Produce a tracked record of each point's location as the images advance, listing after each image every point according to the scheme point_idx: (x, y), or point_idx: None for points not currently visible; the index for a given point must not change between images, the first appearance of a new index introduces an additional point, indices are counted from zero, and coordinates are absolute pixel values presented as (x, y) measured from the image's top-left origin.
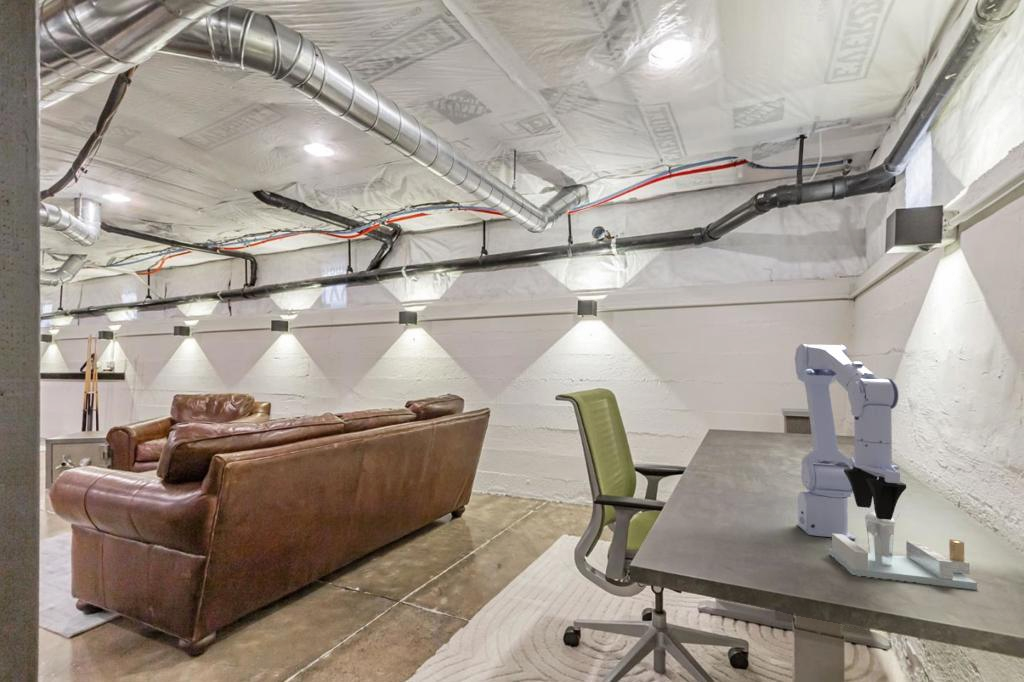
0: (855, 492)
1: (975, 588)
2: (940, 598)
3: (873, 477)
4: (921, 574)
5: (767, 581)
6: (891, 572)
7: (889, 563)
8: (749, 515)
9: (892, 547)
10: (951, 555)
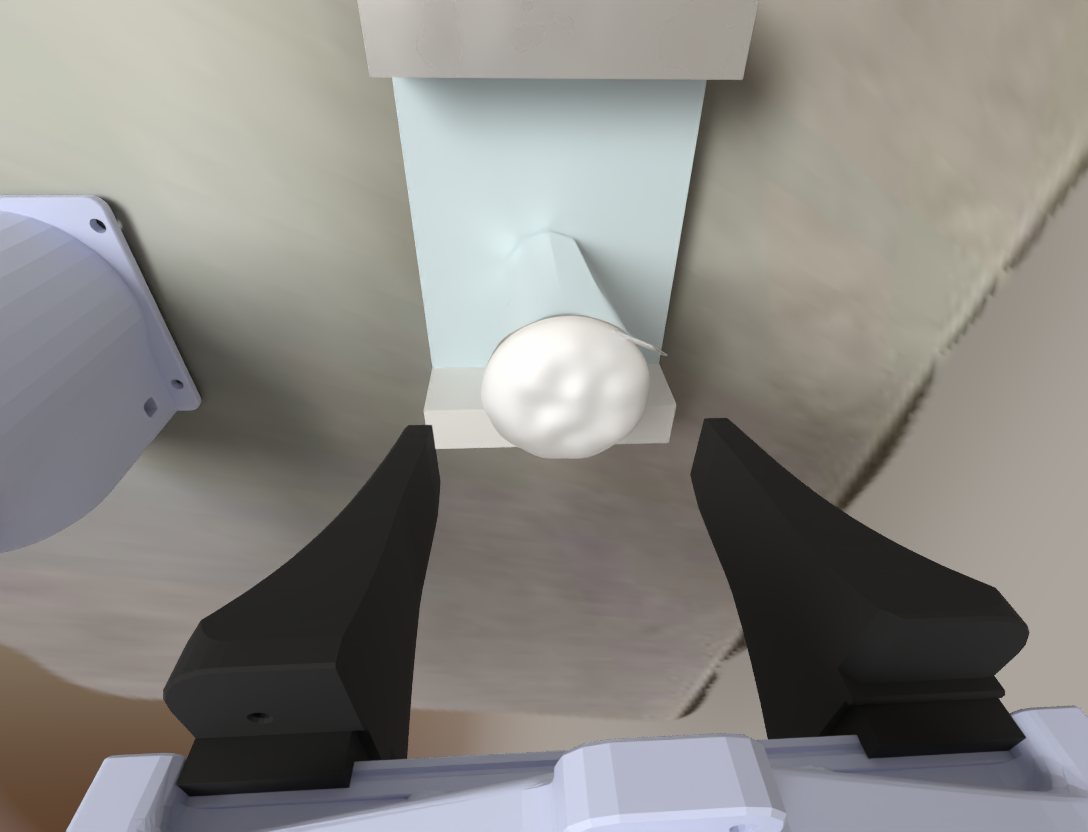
0: (422, 575)
1: None
2: (829, 161)
3: (373, 630)
4: (666, 145)
5: (721, 582)
6: (664, 281)
7: (586, 257)
8: (48, 539)
9: (588, 270)
10: None
